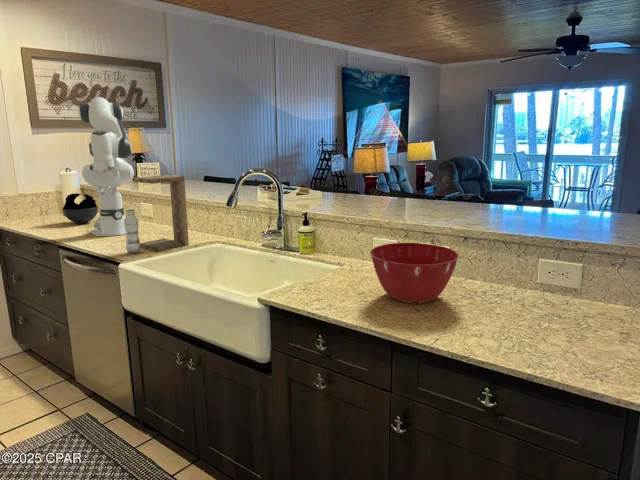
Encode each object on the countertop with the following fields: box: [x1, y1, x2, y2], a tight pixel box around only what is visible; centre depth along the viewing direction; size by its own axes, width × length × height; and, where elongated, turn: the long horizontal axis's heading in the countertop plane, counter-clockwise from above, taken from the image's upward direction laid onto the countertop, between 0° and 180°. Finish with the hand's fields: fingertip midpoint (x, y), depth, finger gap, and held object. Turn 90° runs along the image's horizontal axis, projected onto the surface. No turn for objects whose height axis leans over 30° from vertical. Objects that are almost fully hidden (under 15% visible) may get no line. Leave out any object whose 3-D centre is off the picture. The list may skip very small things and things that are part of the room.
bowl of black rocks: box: [62, 192, 99, 224], centre depth 303 cm, size 20×20×19 cm
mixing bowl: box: [369, 242, 460, 304], centre depth 161 cm, size 28×28×15 cm
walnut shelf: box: [133, 174, 190, 253], centre depth 235 cm, size 16×18×34 cm
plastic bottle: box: [124, 209, 142, 254], centre depth 225 cm, size 6×7×20 cm
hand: (108, 195), depth 232 cm, fingers open, 8 cm apart
